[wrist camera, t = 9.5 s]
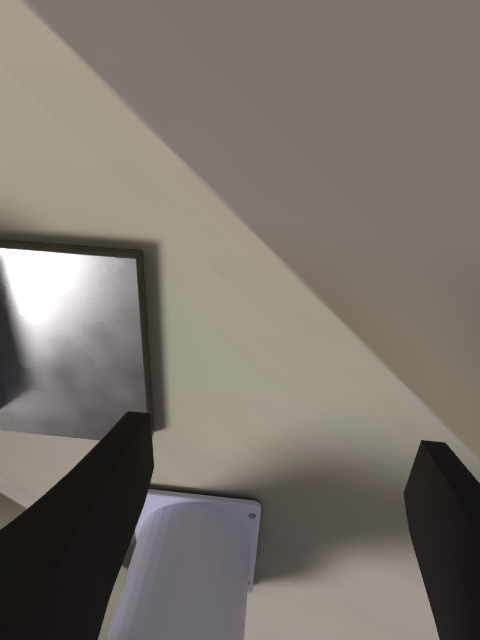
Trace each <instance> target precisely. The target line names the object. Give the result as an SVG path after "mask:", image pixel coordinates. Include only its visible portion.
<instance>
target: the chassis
mask: <svg viewBox="0 0 480 640" xmlns="http://www.w3.org/2000/svg"><path fill="white" fill-rule="evenodd" d="M128 411H132V412H142V413H150V414H151V429H152V436H153V433H154V428H153V412H152V396H151V381H150V365H149V349H148V334H147V318H146V302H145V286H144V271H143V255H142V251H139V250H127V249H114V248H101V247H89V246H76V245H63V244H51V243H38V242H25V241H13V240H0V430H5V431H15V432H24V433H34V434H44V435H53V436H63V437H73V438H82V439H92V440H101V439H102V438H103V437H104V436H105V435H106V434H107V433H108V432H109V431H110V430H111V429H112V428H113V426H114V425H115V424H116V423H117V422H118V421H119V420H120V419H121V417H122V416H123V415H124V414H125V413H127V412H128Z"/></svg>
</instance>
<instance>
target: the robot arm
mask: <svg viewBox="0 0 480 640" xmlns="http://www.w3.org/2000/svg"><path fill="white" fill-rule="evenodd" d="M153 469H154V459H153V444H152V429H151V414H150V413H142V412H132V411H128V412H127V413H125V414H124V415H123V416H122V417H121V419H120V420H119V421H118V422H117V423H116V424H115V425H114V426H113V428H112V429H111V430H110V431H109V432H108V433H107V434H106V435H105V436H104V437H103V438H102V439H101V440H100V442H99V443H98V444H97V445H96V446H95V447H94V448H93V449H92V450H91V451H90V452H89V453H88V454H87V455H86V456H85V457H84V458H83V459H82V460H81V461H80V462H79V463H78V464H77V465H76V466H75V467H74V468H73V469H72V470H71V471H70V472H69V473H68V474H67V475H65V476H64V477H63V478H62V479H61V480H60V481H59V482H58V483H57V484H56V485H54V486H53V487H52V488H51V489H50V490H49V491H48V492H47V493H46V494H45V495H43V496H42V497H41V498H40V499H39V500H38V501H36V502H35V503H34V504H33V505H32V506H30V507H29V508H28V509H27V510H25V511H24V512H23V513H22V514H20V515H19V516H18V517H17V518H15V519H14V520H13V521H12V522H10V523H9V524H8V525H6V526H5V527H3V528H2V529H1V530H0V640H98V636H99V633H100V630H101V626H102V622H103V619H104V615H105V612H106V608H107V604H108V601H109V598H110V595H111V592H112V590H113V586H114V584H115V581H116V578H117V576H118V573H119V570H120V568H121V565H122V563H123V560H124V557H125V555H126V552H127V549H128V547H129V544H130V542H131V539H132V536H133V534H134V531H135V535H136V546H135V549H134V552H133V556H132V559H131V562H130V565H129V568H128V571H127V575H126V578H125V581H124V584H123V588H122V590H121V594H120V597H119V600H118V603H117V606H116V609H115V613H114V616H113V619H112V622H111V625H110V628H109V632H108V635H107V638H106V640H244V630H245V617H246V604H247V595H248V594H251V593H252V591H253V582H254V572H255V563H256V553H257V544H258V534H259V525H260V515H261V504H260V503H259V502H257V501H254V500H245V499H236V498H226V497H217V496H208V495H199V494H190V493H181V492H171V491H162V490H153V489H149V485H150V481H151V477H152V473H153ZM404 499H405V506H406V513H407V519H408V525H409V531H410V535H411V539H412V543H413V546H414V550H415V553H416V557H417V560H418V564H419V567H420V571H421V574H422V578H423V581H424V585H425V588H426V592H427V595H428V599H429V602H430V606H431V609H432V612H433V616H434V619H435V623H436V627H437V631H438V635H439V639H440V640H480V483H479V482H478V481H477V480H476V479H475V478H474V476H473V475H472V474H471V473H470V472H469V470H468V469H467V468H466V467H465V466H464V464H463V463H462V462H461V461H460V460H459V458H458V457H457V456H456V455H455V454H454V452H453V451H452V450H451V449H450V448H449V446H448V445H447V444H446V443H444V442H434V441H424V440H421V443H420V446H419V449H418V452H417V455H416V458H415V461H414V464H413V467H412V470H411V473H410V476H409V479H408V482H407V485H406V488H405V491H404ZM252 513H253V514H252Z"/></svg>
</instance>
